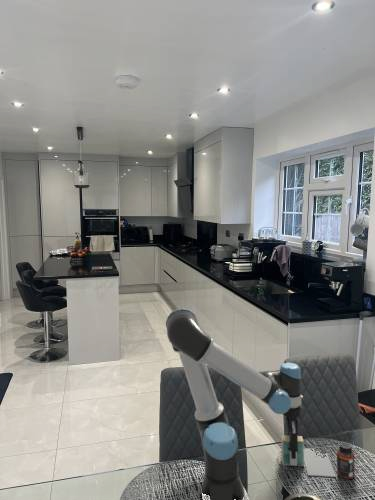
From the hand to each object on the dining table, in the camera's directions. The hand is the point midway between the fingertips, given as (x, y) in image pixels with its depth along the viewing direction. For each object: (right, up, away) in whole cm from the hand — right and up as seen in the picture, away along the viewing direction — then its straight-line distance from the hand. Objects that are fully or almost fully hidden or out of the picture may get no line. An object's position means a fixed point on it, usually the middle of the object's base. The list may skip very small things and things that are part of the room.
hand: (292, 461), depth 142 cm
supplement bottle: (+18, -1, -8) cm, 19 cm away
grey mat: (+10, 0, 0) cm, 10 cm away
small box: (0, -1, 0) cm, 1 cm away
